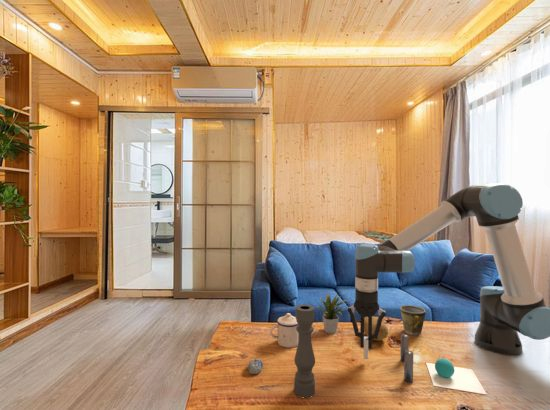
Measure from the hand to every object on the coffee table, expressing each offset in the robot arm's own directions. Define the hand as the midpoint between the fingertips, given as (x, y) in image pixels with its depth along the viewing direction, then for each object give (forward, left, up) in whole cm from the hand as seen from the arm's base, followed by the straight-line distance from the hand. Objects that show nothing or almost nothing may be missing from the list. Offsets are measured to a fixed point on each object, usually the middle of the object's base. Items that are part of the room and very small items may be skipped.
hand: (365, 356), depth 106 cm
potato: (-3, -22, -3) cm, 22 cm away
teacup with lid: (+31, -6, -3) cm, 32 cm away
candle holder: (+17, +22, -3) cm, 28 cm away
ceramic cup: (-19, -32, -3) cm, 37 cm away
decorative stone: (+35, +16, -3) cm, 39 cm away
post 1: (-13, -6, -2) cm, 15 cm away
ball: (-24, 0, 0) cm, 24 cm away
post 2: (-13, +6, -2) cm, 15 cm away
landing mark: (-27, 0, -2) cm, 27 cm away
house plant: (+15, -22, -3) cm, 27 cm away
